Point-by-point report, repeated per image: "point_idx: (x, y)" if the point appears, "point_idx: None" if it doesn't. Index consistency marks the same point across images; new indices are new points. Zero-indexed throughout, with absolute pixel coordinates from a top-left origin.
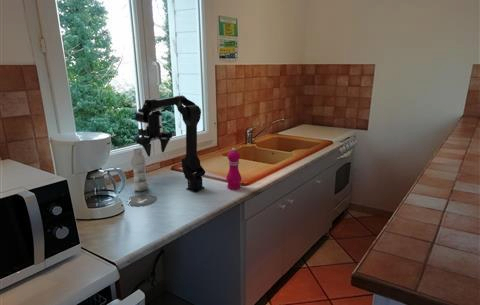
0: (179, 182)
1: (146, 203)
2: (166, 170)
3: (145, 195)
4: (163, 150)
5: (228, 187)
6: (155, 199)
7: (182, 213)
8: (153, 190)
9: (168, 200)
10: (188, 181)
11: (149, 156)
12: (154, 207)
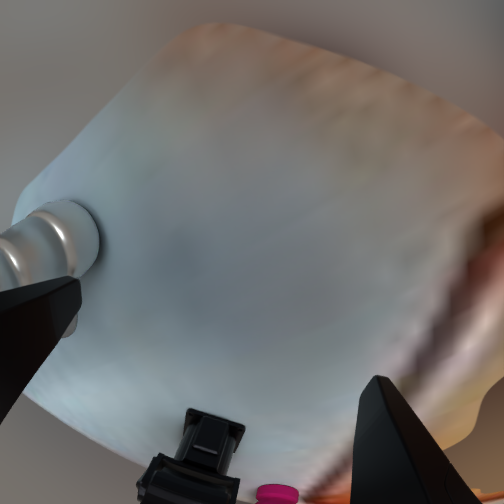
0: (256, 367)
1: None
2: (458, 189)
3: None
4: (356, 431)
5: (260, 489)
6: (64, 333)
7: (72, 410)
8: (107, 289)
9: (87, 372)
10: (190, 440)
11: (75, 302)
12: None
